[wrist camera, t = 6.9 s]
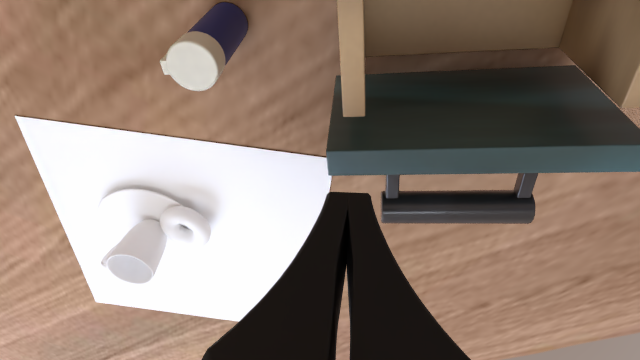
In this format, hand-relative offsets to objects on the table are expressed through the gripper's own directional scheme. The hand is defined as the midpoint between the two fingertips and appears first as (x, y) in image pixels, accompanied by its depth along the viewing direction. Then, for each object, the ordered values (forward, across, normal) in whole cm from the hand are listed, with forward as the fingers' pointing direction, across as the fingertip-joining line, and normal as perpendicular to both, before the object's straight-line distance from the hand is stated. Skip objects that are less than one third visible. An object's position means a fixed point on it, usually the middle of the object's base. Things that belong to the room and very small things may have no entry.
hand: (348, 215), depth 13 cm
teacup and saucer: (+11, +12, +14) cm, 21 cm away
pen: (+10, +6, -3) cm, 13 cm away
